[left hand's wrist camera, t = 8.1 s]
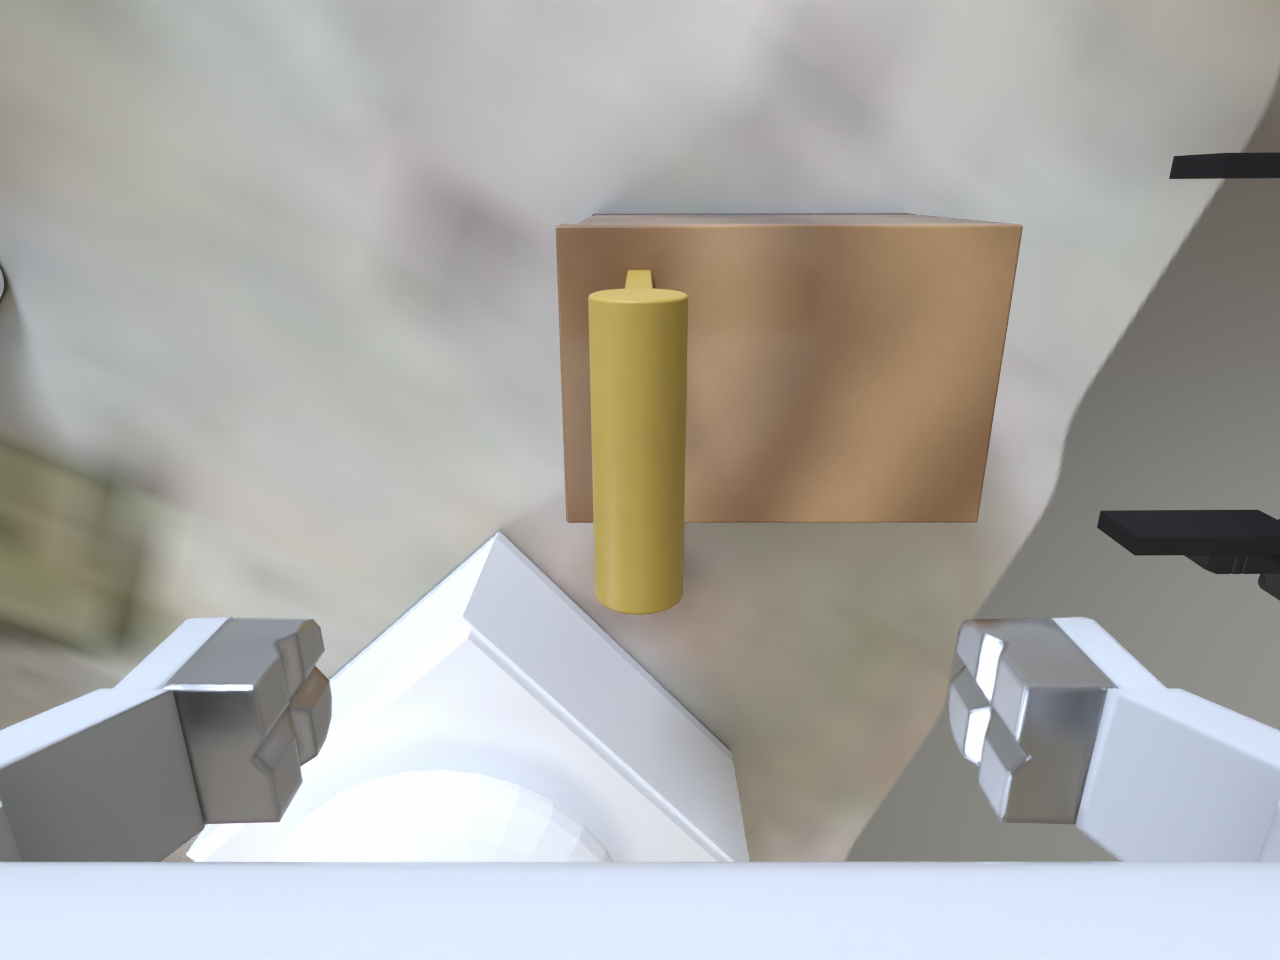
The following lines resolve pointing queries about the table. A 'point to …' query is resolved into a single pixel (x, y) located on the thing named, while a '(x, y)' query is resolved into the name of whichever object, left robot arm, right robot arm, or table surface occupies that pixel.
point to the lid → (772, 380)
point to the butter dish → (501, 744)
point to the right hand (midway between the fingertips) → (1152, 363)
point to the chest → (769, 219)
